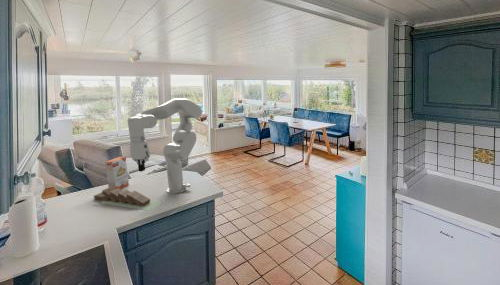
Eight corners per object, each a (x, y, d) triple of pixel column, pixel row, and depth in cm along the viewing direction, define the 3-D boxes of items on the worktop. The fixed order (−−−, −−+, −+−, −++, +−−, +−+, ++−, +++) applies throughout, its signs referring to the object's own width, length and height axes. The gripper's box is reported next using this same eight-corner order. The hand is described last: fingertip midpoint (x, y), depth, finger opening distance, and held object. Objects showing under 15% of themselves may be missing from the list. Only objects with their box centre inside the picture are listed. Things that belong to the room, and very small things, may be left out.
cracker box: (116, 192, 185) (112, 162, 181) (108, 192, 186) (104, 161, 182) (129, 185, 198) (125, 156, 194) (122, 184, 200) (118, 156, 195)
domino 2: (124, 195, 171) (110, 186, 175) (116, 199, 166) (102, 190, 169) (124, 198, 172) (110, 190, 175) (116, 202, 166) (101, 193, 170)
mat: (163, 202, 164) (163, 202, 164) (149, 211, 153) (149, 210, 153) (115, 195, 179) (115, 195, 178) (99, 203, 168) (99, 202, 168)
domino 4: (141, 198, 166) (126, 189, 169) (133, 201, 161) (118, 192, 164) (140, 201, 167) (125, 192, 170) (133, 205, 161) (117, 196, 165)
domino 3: (132, 196, 168) (118, 188, 172) (125, 200, 163) (110, 191, 166) (132, 200, 169) (117, 191, 173) (124, 204, 164) (109, 195, 167)
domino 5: (150, 199, 164) (134, 190, 167) (143, 203, 158) (126, 194, 161) (149, 202, 164) (134, 193, 168) (142, 206, 159) (126, 197, 162)
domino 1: (116, 194, 174) (102, 192, 178) (108, 197, 168) (93, 195, 173) (116, 197, 174) (102, 195, 178) (108, 201, 169) (94, 199, 173)
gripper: (153, 138, 155) (157, 169, 159) (132, 137, 160) (136, 167, 164) (143, 141, 148) (147, 173, 152) (122, 140, 154) (127, 171, 158)
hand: (142, 170), depth 158 cm, fingers closed
